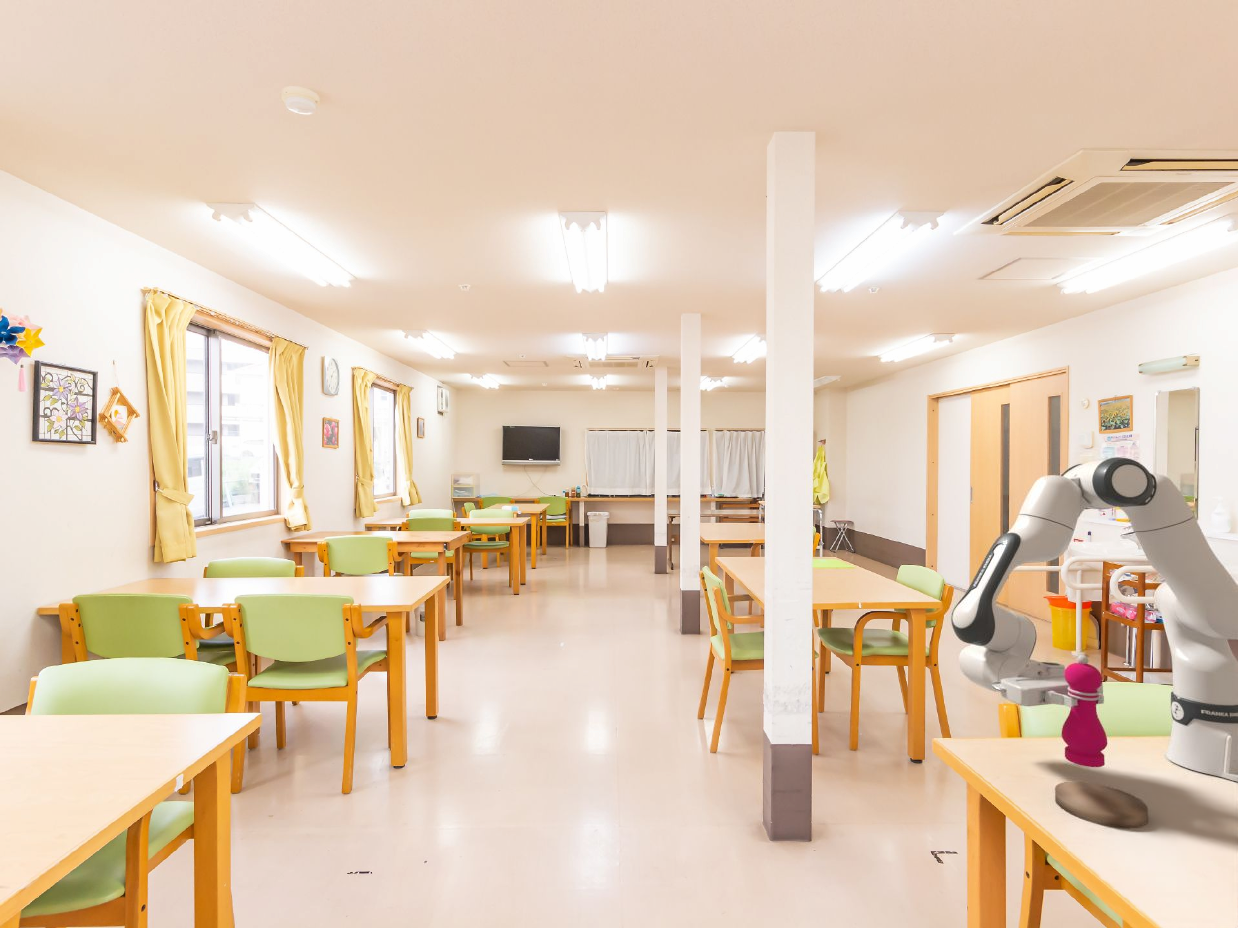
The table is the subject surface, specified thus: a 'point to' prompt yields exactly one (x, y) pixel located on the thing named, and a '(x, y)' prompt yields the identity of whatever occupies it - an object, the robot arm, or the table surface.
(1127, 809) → the walnut board
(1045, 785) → the table surface
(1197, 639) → the robot arm
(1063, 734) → the pepper mill
